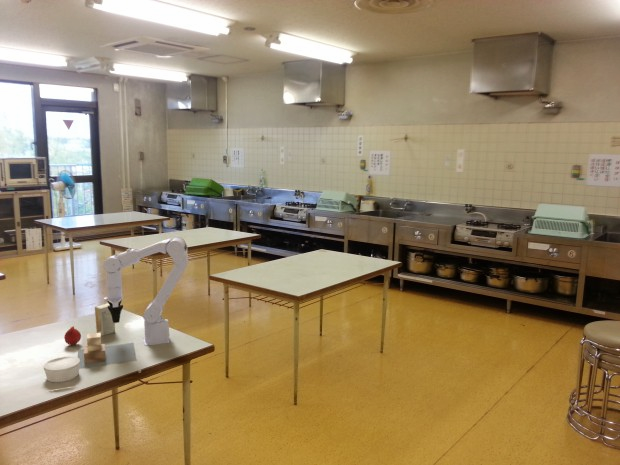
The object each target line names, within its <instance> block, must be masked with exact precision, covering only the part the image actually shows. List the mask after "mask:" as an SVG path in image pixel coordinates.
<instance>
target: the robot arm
mask: <svg viewBox="0 0 620 465" xmlns="http://www.w3.org/2000/svg"><path fill="white" fill-rule="evenodd" d="M125 250H126V251H123V252H120V253H118V252H116V253H115V254H114V255H111V256H109V257H108V258H107V259H105V261H104V262H103V269H104V270H105V286H106V296H105V297H103V301H106V303H109V305H110V306H108V309H109V311H110V313H111V316H112V320H113V323H115V324H117V323H120V319H121V313H122V311H123V308H124V304H121V303H122V301H123V299H124V295H123V284H122V283H123V282H122V279H123V278H122V269H125V268H126V267H130V266H132V265H134V264H138V263H139V262H140V261H141V259H142V258H145V257H147V256H151V255H154V254H157V253H162V254H165V255H167V254H168V256H170V258H171V259H172V261H173V263H174V266H173V267H172V268H171V271H170V273H169V274H168V276H167V277H166V280H165V281H164V282H163V285H162V286H161V288H160V289H159V291H158V293H157V294H156V296H155V298H154V300H152V301H151V302H150V303H149V304H148V305H147V308H146V309H145V311H144V312H143V313H142V318H143V320H144V324H143V325H144V338H143V343H144V346H145V347H148V346H156V345H162V344H169V343H170V326H169V325H170V323H169V319H168V318H167V319H166V318H163V316H162V314H163V312H164V306H165V304H166V302H167V301H168V300H169V297H170V296H171V294H172V293H173V291H174V289H175V288H176V286H177V284H178V282H179V281H180V280H181V277H182V275H183V274H184V272H185V270H186V269H187V267H188V266H189V254H188V245H187V243H186V241H185V239H184V238H183V237H180V236H175V237H173V238H167V239H164V240H160V241H158V242H156V243H153V244H149V245H148V246H146V247H143V248H140V249H135V248H128V249H125Z"/></svg>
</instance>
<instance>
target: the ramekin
mask: <svg viewBox="0 0 620 465" xmlns="http://www.w3.org/2000/svg"><path fill="white" fill-rule="evenodd" d="M79 365H80V359H79V358H78V356H77V357H76V356H62V357H57V358H56V357H55V358H53V359H50V360H48V361H46V362H45V363H44V365H43V371H44V374H45V376H46V379H47V381H49V382H50V383H64V382H68V381H71V380H73V379H75V378H77V376H78V375H79V374H80V373H79V372H80V369H79Z"/></svg>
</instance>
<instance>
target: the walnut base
mask: <svg viewBox="0 0 620 465" xmlns="http://www.w3.org/2000/svg"><path fill="white" fill-rule="evenodd" d="M105 346H106V344H105V343H101V350H97V351H89V352H88V348H87V345H85V346H84V347H83V349H84V363H85V364H88V363H95V362H102V361H106V358H105Z"/></svg>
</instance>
